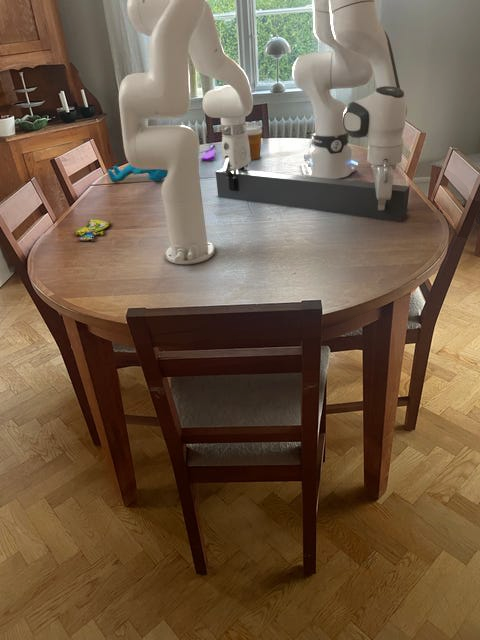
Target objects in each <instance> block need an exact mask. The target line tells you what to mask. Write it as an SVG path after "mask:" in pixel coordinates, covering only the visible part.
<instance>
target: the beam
mask: <svg viewBox="0 0 480 640" xmlns="http://www.w3.org/2000/svg"><path fill="white" fill-rule="evenodd" d="M231 172H232V173H233V171H231ZM236 178H237V179H238V191H231V190H229V180H228V178H227V176H226V174H224V173H223V167H222V168H220V169H218V170H215V180H216V190H217V197H218V198H225V199H232V200H238V201H245V202H246V201H247V202H254V203H262V204H267V205H274V206H282V207H291V208H296V209H297V208H299V209H305V210H313V211H320V212H329V213H334V214H342V215H349V216H350V215H351V216H357V217H365V218H371V219H380V220H387V221H394V222H403V221H404V220H405V218H406V217H407V216H408V215H407V214H408V207H409V200H410V199H409V198H410V189H411V186H409V185H401V184H400V185H399V184H392V195H391V199H390V200H386V203H385V209H384V210H378V200H377V196H376V189H375V183H374V182H370V181H361V180H360V181H358V180H349V179H342V178H339V179H331V178H321V177H311V176H304V175H301V174H300V175H299V174H290V173H278V172H270V171H258V170H248V169H247V170H240V169H238V170H237V171H236Z"/></svg>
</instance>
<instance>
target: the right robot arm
mask: <svg viewBox="0 0 480 640" xmlns="http://www.w3.org/2000/svg"><path fill="white" fill-rule="evenodd" d="M312 17H313V19H312V21H313V33H314V36H315V37H316V39H317V40H318V41H319V42H320V43H322V44H324V45H326V46H328V47H330V48H331V49H332V50H327V51H313V52H308V53H305V54H302V55H299V56H298V57H297V58H296V60H295V61H294V63H293V66H292V79H293V81H294V83H295V85H296V87H297V88H298V89H300V90H301V91H302V92H304V94H305V95H306V96H307V98H308V99H309V101H310V103H311V106H312V108H313V118H314V133H313V132H312V131H310V130H307V132H306V135H308V134H309V135H311V143H310V146H311V147H310V148H309V150H308V151H307V154H304V156H303V161H304V162H303V163H301V170H302V174H303V176H311V177H321V178H331V179H343V178H347V177H348V176H350V175H351V174H352V173H355V172H356V167H354V166H353V165H355V166H358V165H359V162H357V161H355V160H353V153H352V152H353V151H352V147H351V146H350V145H349V140H350V139H349V138H350V137H351V138H355V139H360V138H361V139H362V138H367V139H368V143H367V158H366V162H367V163H368V164H370V165H371V169H372V177H373V183H375V189H376V196H377V200H378V210H384V209H385V203H386V200H390V199H391V195H392V185H393V181H394V169H396V167H397V165H398V164H400V163H401V162H402V158H403V157H402V156H403V148H404V138H403V134H404V130H405V126H406V120H407V114H408V106H407V96H406V93H405V91H404V90H402V89H401V86H400V82H399V77H398V72H397V71H398V70H397V67H396V62H395V57H394V53H393V49H392V45H391V41H390V37H389V35H388V33H387V32H386V30H385V29H383V27H382V25H381V23H380V20H379V16H378V14H377V8H376V2H375V0H312ZM372 76H373V77H374V83H375V87H376V88H375V89H374V90H373V92H372V93H370V94H369V95H367V96H365V97H361V98H360V99H356V100H353V101H351V102H349V103H348V104H347V105H346V104H345V103H344V102H342V100H339V99H337V98H335V97H334V96H332V93H331V90H337V89H341V90H342V89H355V88H358V87H361V86H365V85H367V84H368V83H369V81H370V80H371V78H372Z"/></svg>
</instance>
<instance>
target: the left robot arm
mask: <svg viewBox="0 0 480 640" xmlns="http://www.w3.org/2000/svg"><path fill="white" fill-rule="evenodd" d="M126 11H127V16H128V19H129V21H130V23H131V25H132V26H133V27H134V29H135V30H136V31H138V32H139V33H141V34H143V35H145V36H148V37H149V40H148V46H147V48H148V49H147V51H148V71H147V72H136V73H135V72H134V73H130V74H128V75H126V76H125V77H124V78H123V79H122V80H121V82H120V85H119V90H118V106H119V115H120V116H119V117H120V126H121V136H122V143H123V151H124V155H125V159H126V161H127V162H128V165H129V164H130V165H131V166H133V167H134V168H137V169H162V170H167V171H168V174H167V176H166V177H164V180H163V182H162V184H161V188H160V193H161V199H162V204H163V210H164V216H165V222H166V223H165V224H166V228H167V234H168V240H169V247H168V248H167V250H166V251H165V257H166V260H167V261H169V262H170V263H173V264H176V265H193V264H199V263H203V262H205V261H207V260H208V259H210V258H211V257H213V255H214V254H215V246H214V244H212V243H210V242H209V241H208V236H207V228H206V221H205V214H204V213H205V212H204V203H203V197H202V188H201V178H200V153H201V152H200V151H201V148H200V139H199V136H198V134H197V132H196V131H195V130H194V129H192V128H191V127H190V126H189V127H188V126H185V125H180V124H179V125H178V124H170V125H169V124H165V125H164V124H163V125H149V120H167V119H168V120H170V119H172V120H173V119H179V118H183V117H185V116H186V115H187V114H188V113H189V111H190V109H191V83H190V65H189V64H190V63H189V61H190V60H191V62H192V65H193V67H194V70H195V71H197V72H198V73H200V74H202V75H204V76H207V77H209V78H211V79H214V80H217V81H220V82H222V83H225V84H226V85H223V86H220V87H219V88H215V89H214V88H213V89H210V90H208V91H207V92H206V93H205V94H204V96H203V97H202V101H201V104H202V106H201V107H202V110H203V112H204V114H205V115H206V116H207V117H209V118H212V119H220V128H221V136H222V137H221V157H222V158H221V159H222V166H223V167H222V168H223V173H224V174H226V176H227V178H228V180H229V190H231V191H238V179H237V178H236V171H237V170H238V169H240V170H248V167H249V164H250V163H251V162H252V160H251V156H250V147H249V140H248V136H247V132H246V126H247V125H246V117H248V116H249V115H250V114H251V113H252V112H253V107H254V98H253V93H252V88H251V85H250V81H249V78H248V75H247V74H246V72H245V70H244V69H243V68H242V67H241V66H240V65H239V64H238V63H237V62H236V61H235V60H233V59H232V58H231V57H230V56H228V55H227V54H226V53H225V52H224V49H223V44H222V41H221V38H220V35H219V31H218V28H217V24H216V21H215V18H214V14H213V11H212V8H211V6H210V4H209V2H208V1H207V0H126ZM189 57H190V60H189ZM231 171H233V173H232V172H231Z"/></svg>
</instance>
